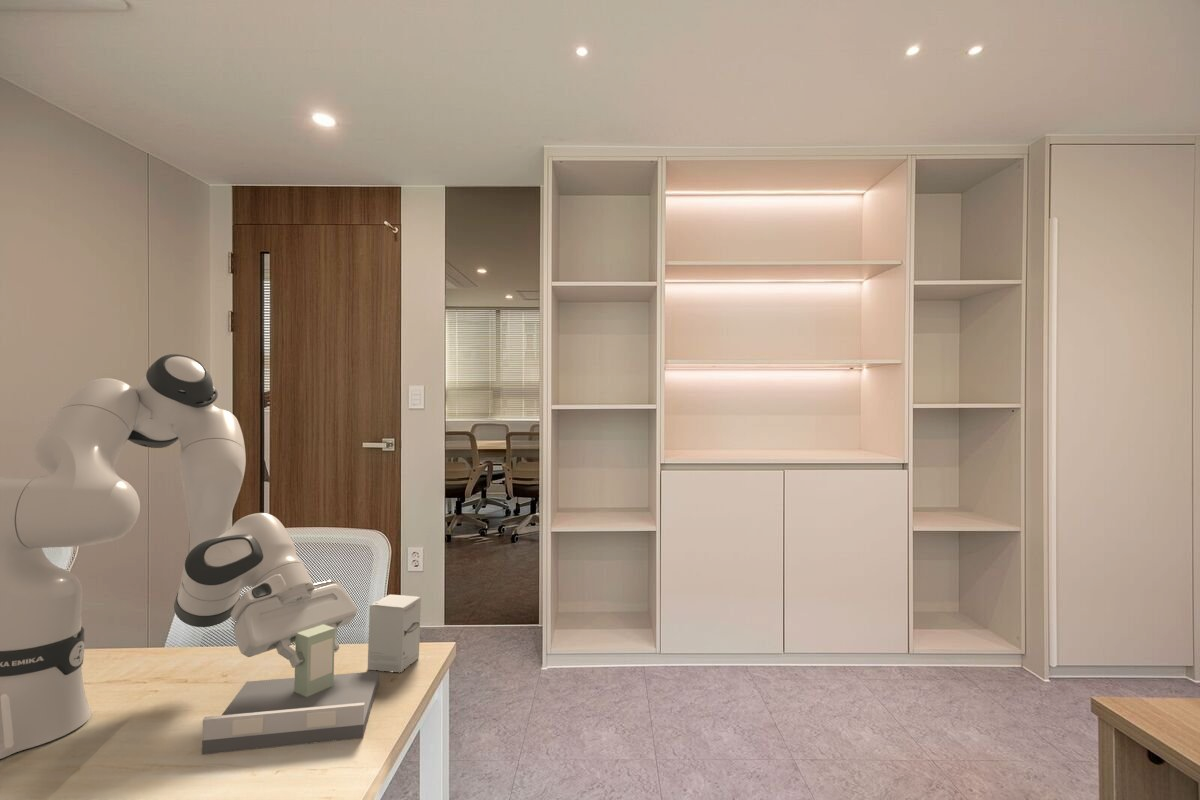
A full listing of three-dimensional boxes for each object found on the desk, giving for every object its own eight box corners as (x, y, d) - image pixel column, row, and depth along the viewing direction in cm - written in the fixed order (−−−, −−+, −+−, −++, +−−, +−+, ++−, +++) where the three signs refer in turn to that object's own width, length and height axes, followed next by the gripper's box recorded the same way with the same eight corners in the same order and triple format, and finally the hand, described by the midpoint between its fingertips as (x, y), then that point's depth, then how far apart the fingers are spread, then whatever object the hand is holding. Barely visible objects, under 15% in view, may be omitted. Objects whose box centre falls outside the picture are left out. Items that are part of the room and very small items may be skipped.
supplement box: (401, 674, 113) (402, 607, 114) (366, 670, 115) (368, 604, 115) (420, 658, 121) (422, 596, 121) (387, 654, 122) (388, 593, 122)
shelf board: (200, 755, 86) (201, 720, 86) (246, 692, 105) (247, 664, 105) (362, 738, 91) (363, 705, 91) (378, 681, 110) (379, 654, 110)
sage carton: (307, 697, 100) (308, 637, 100) (294, 691, 101) (295, 632, 102) (334, 685, 104) (335, 628, 104) (321, 680, 106) (322, 623, 106)
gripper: (330, 587, 118) (360, 648, 112) (220, 617, 100) (250, 690, 95) (344, 568, 115) (376, 629, 110) (234, 595, 98) (266, 669, 93)
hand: (317, 658), depth 102 cm, fingers closed on sage carton, 5 cm apart
